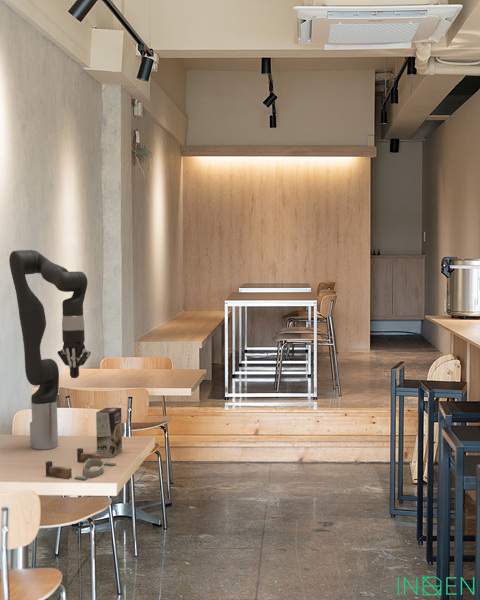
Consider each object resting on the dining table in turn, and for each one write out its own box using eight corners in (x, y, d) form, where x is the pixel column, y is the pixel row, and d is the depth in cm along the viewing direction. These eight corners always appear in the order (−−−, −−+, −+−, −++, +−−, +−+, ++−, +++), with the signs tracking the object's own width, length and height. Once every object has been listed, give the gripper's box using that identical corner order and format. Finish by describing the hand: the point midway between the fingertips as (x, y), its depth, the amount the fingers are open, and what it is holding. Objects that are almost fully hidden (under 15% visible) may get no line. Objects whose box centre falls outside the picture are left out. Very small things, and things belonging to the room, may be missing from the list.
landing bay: (74, 479, 205) (74, 477, 205) (106, 463, 221) (105, 462, 221) (84, 480, 204) (84, 478, 204) (115, 465, 220) (115, 463, 220)
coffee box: (113, 457, 229) (112, 412, 228) (96, 456, 230) (95, 412, 229) (123, 450, 238) (121, 407, 237) (106, 450, 239) (105, 406, 238)
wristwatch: (91, 469, 216) (90, 454, 216) (108, 470, 214) (108, 455, 214) (78, 477, 207) (77, 462, 207) (96, 479, 206) (95, 463, 205)
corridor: (45, 475, 209) (45, 462, 209) (79, 460, 226) (79, 448, 226) (68, 478, 206) (68, 464, 205) (101, 463, 222) (101, 450, 222)
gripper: (51, 329, 225) (52, 378, 225) (82, 329, 219) (83, 380, 220) (64, 327, 232) (66, 375, 232) (95, 328, 226) (96, 377, 227)
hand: (74, 377), depth 226 cm, fingers closed
